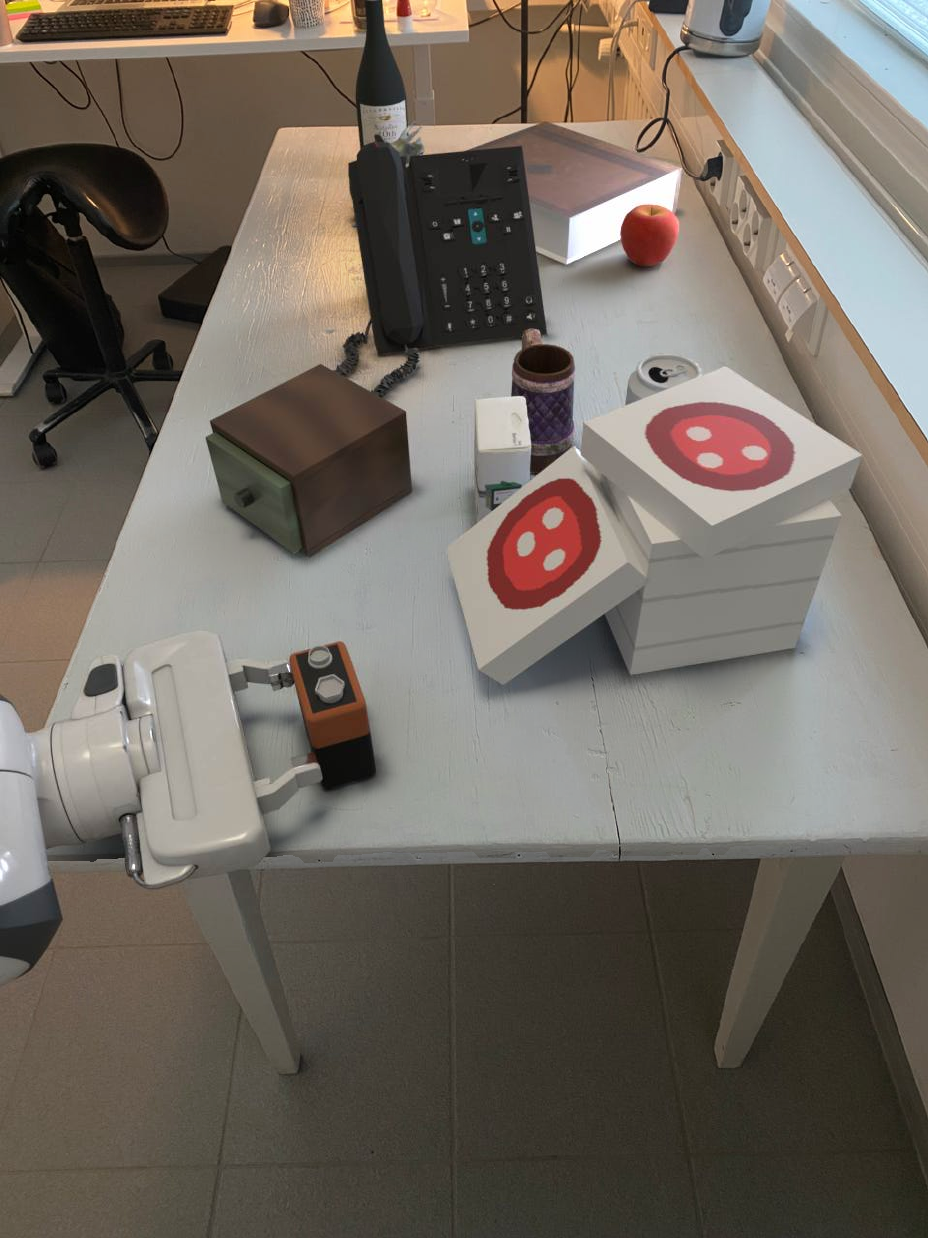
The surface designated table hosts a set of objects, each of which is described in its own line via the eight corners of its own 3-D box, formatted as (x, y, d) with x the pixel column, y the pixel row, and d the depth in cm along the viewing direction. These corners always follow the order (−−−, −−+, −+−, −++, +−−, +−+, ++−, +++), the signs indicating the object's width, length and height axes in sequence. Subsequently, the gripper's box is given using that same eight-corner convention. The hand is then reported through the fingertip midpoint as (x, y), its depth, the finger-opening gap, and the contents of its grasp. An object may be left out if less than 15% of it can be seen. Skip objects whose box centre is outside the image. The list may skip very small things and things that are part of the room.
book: (543, 162, 156) (545, 121, 152) (676, 212, 142) (682, 167, 137) (434, 206, 145) (433, 162, 141) (566, 264, 131) (569, 217, 126)
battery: (323, 794, 71) (304, 713, 64) (304, 726, 76) (284, 644, 68) (378, 777, 72) (366, 696, 65) (356, 712, 76) (342, 629, 69)
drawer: (283, 560, 88) (269, 494, 82) (212, 507, 94) (194, 442, 88) (390, 492, 95) (384, 427, 89) (317, 447, 100) (307, 383, 95)
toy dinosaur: (361, 254, 134) (353, 173, 126) (311, 243, 137) (300, 164, 129) (430, 196, 148) (427, 120, 140) (384, 188, 150) (378, 113, 142)
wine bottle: (413, 179, 153) (401, -41, 131) (365, 184, 152) (345, -37, 130) (406, 161, 158) (393, -53, 137) (360, 165, 157) (339, -50, 136)
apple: (681, 271, 129) (689, 215, 123) (625, 276, 128) (631, 219, 122) (665, 247, 134) (672, 191, 128) (611, 251, 133) (616, 196, 128)
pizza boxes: (444, 565, 88) (435, 402, 75) (742, 521, 92) (783, 358, 79) (485, 723, 75) (483, 558, 62) (831, 664, 79) (898, 497, 66)
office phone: (324, 416, 106) (298, 242, 91) (302, 299, 125) (278, 140, 111) (572, 383, 110) (585, 211, 95) (514, 274, 129) (517, 117, 114)
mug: (578, 472, 98) (587, 371, 89) (512, 478, 97) (514, 377, 89) (559, 417, 105) (565, 318, 96) (497, 423, 104) (497, 324, 96)
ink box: (473, 493, 96) (472, 394, 87) (522, 491, 96) (525, 392, 87) (477, 549, 90) (476, 448, 81) (529, 547, 90) (533, 446, 81)
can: (610, 450, 100) (622, 350, 92) (678, 444, 101) (696, 345, 92) (626, 493, 95) (640, 392, 87) (698, 487, 96) (719, 386, 87)
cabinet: (309, 558, 90) (293, 476, 82) (230, 500, 96) (209, 420, 89) (412, 491, 96) (406, 411, 89) (332, 442, 103) (320, 363, 95)
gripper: (113, 873, 57) (332, 806, 60) (91, 642, 71) (271, 597, 74) (141, 920, 62) (344, 856, 65) (116, 695, 75) (284, 650, 78)
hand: (305, 716), depth 69 cm, fingers open, 8 cm apart
